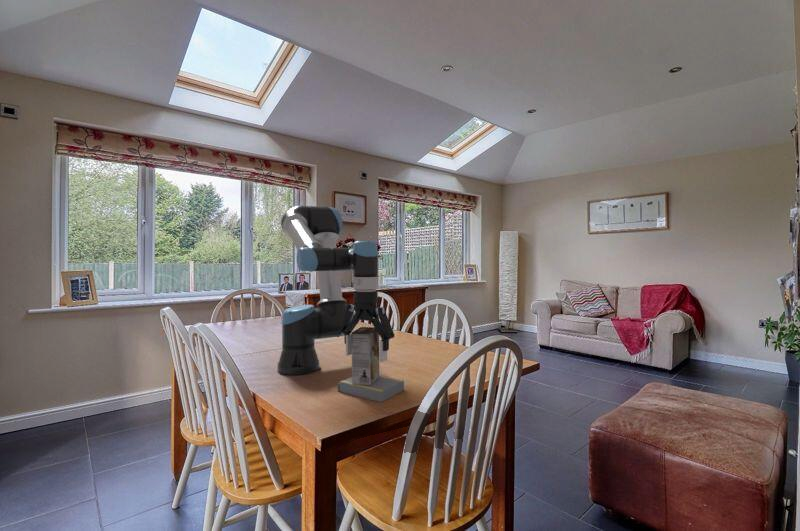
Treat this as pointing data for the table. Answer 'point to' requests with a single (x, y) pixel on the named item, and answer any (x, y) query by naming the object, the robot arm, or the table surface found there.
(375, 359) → the coffee box
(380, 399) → the dock
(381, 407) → the table surface
